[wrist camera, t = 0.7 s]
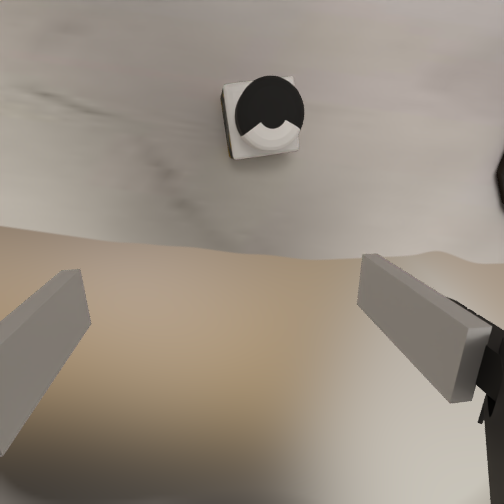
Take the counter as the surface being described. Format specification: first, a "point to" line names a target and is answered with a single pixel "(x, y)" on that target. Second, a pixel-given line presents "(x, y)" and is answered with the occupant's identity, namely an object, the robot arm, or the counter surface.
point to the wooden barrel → (501, 178)
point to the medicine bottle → (262, 116)
